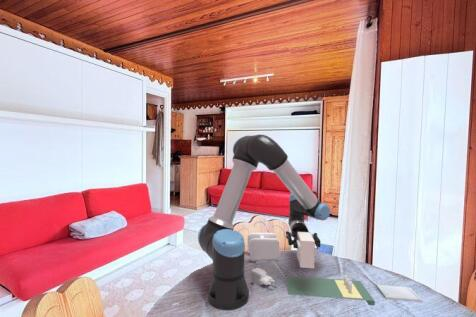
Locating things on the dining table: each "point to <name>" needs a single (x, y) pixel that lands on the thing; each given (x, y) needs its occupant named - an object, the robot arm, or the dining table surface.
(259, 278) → the power adapter
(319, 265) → the dining table surface
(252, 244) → the cable organizer
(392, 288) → the hard drive
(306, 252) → the block
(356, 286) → the board
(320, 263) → the dining table surface
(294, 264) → the dining table surface
